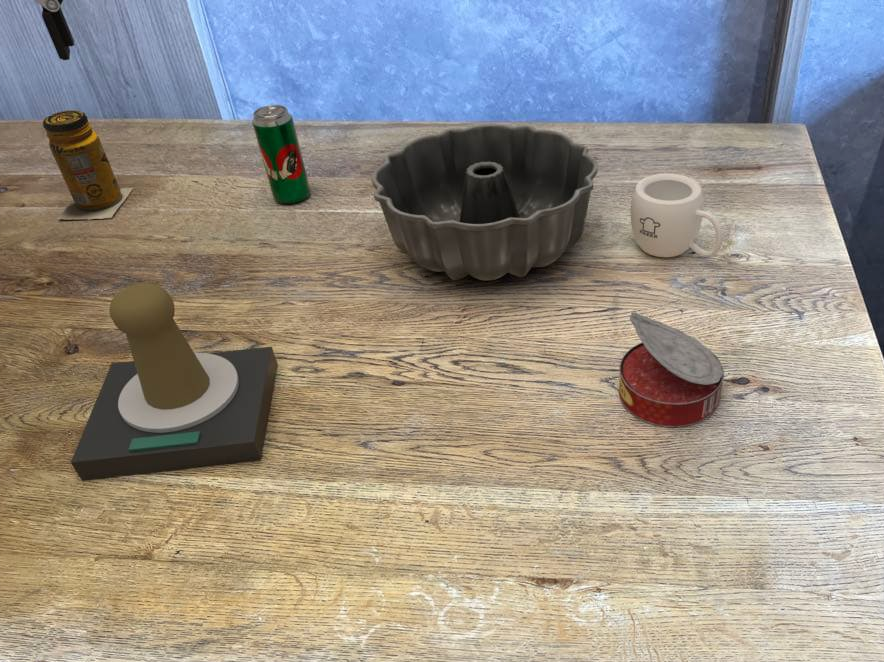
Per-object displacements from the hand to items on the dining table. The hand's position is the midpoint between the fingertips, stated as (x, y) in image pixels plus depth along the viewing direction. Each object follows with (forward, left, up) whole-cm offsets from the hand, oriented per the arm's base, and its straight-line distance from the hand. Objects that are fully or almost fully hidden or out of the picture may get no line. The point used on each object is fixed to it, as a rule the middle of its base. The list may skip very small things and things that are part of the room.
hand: (7, 64), depth 73 cm
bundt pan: (+42, +9, -28) cm, 52 cm away
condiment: (-11, +29, -28) cm, 42 cm away
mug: (+64, +3, -28) cm, 70 cm away
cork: (+10, -17, -26) cm, 32 cm away
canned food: (+57, -22, -28) cm, 67 cm away
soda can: (+16, +26, -28) cm, 42 cm away
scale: (+10, -18, -28) cm, 35 cm away
